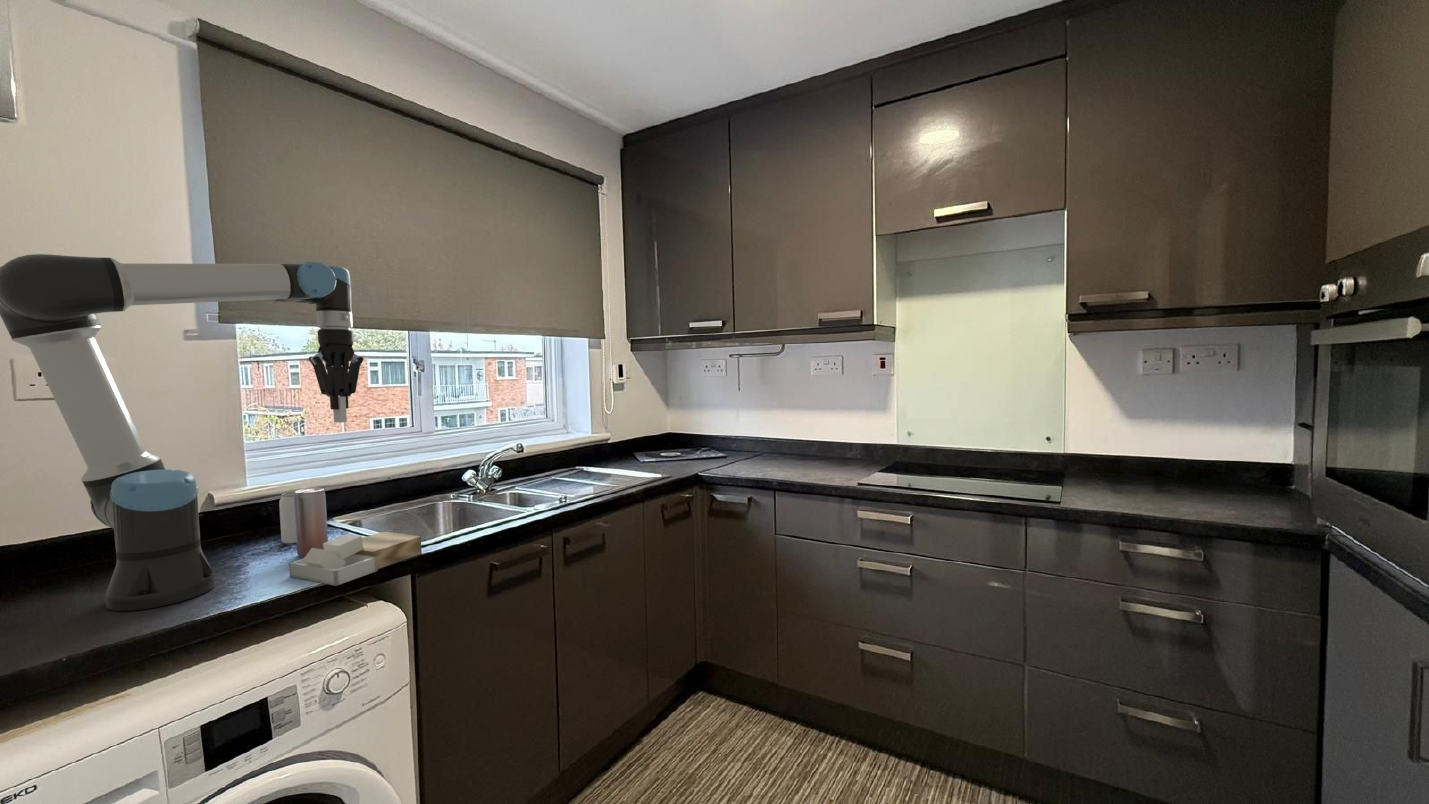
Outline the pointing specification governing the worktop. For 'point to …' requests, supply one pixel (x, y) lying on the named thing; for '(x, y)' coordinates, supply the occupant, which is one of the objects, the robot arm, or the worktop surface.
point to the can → (287, 518)
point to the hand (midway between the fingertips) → (340, 422)
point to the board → (391, 547)
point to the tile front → (323, 559)
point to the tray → (350, 571)
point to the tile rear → (344, 545)
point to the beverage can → (310, 520)
